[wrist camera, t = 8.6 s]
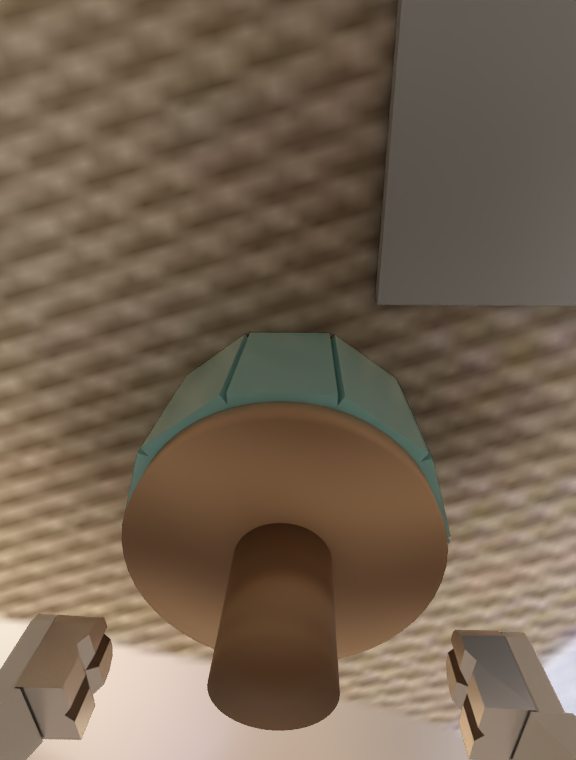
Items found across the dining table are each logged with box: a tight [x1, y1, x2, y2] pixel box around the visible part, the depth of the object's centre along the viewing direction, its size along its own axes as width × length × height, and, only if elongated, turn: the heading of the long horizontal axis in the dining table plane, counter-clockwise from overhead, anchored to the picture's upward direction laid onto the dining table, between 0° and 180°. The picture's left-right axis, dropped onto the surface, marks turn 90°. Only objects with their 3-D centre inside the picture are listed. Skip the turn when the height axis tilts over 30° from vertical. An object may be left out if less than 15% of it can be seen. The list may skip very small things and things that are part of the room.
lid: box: [122, 401, 448, 730], centre depth 11 cm, size 9×9×4 cm
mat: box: [375, 0, 576, 306], centre depth 12 cm, size 12×10×1 cm
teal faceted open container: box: [126, 332, 451, 544], centre depth 16 cm, size 10×10×5 cm
